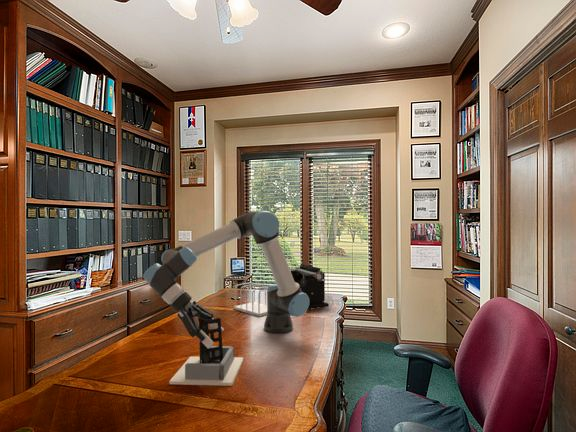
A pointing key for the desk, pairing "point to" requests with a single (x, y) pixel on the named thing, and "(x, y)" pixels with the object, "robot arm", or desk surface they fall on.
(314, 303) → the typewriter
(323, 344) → the desk surface
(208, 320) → the holder
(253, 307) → the file sorter
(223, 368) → the bay
